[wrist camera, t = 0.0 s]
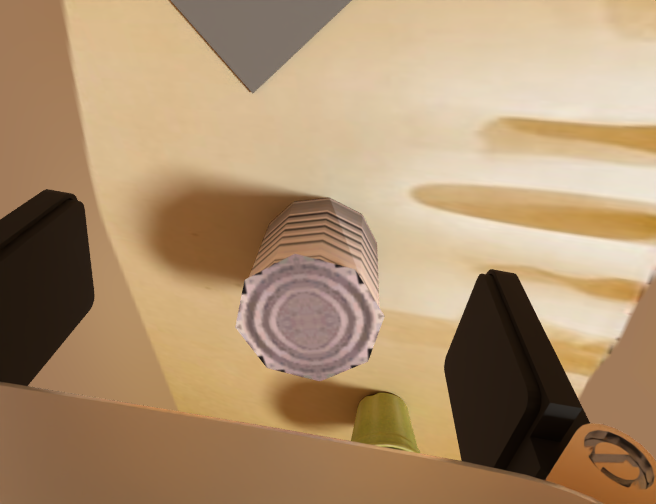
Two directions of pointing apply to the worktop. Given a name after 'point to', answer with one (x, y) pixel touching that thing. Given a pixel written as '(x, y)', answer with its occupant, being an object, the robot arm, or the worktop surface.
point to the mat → (258, 31)
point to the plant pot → (384, 423)
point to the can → (313, 291)
